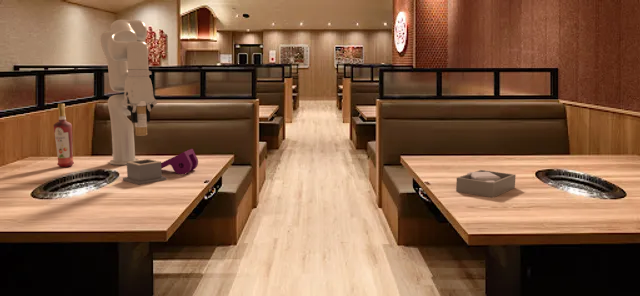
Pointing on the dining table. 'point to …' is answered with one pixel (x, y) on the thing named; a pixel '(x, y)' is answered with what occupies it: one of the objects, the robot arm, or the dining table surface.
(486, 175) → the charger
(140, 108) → the sprinkles bottle
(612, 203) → the dining table surface
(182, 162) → the mounting bracket
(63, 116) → the liquor
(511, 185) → the stand
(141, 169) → the well
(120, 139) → the robot arm
